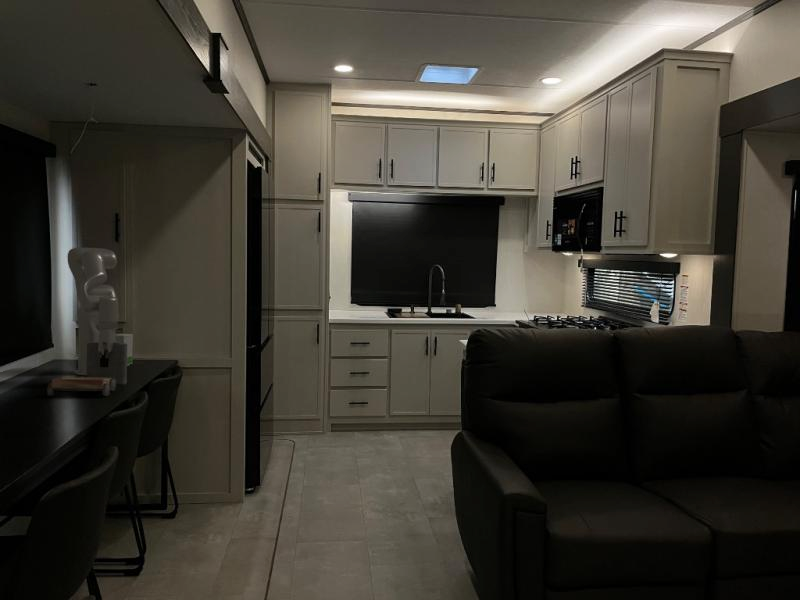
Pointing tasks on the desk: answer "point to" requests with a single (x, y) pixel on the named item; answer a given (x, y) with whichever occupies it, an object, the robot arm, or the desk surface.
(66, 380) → the dolly
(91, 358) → the grey upright notched slab
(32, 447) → the desk surface
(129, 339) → the skincare box
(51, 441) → the desk surface
